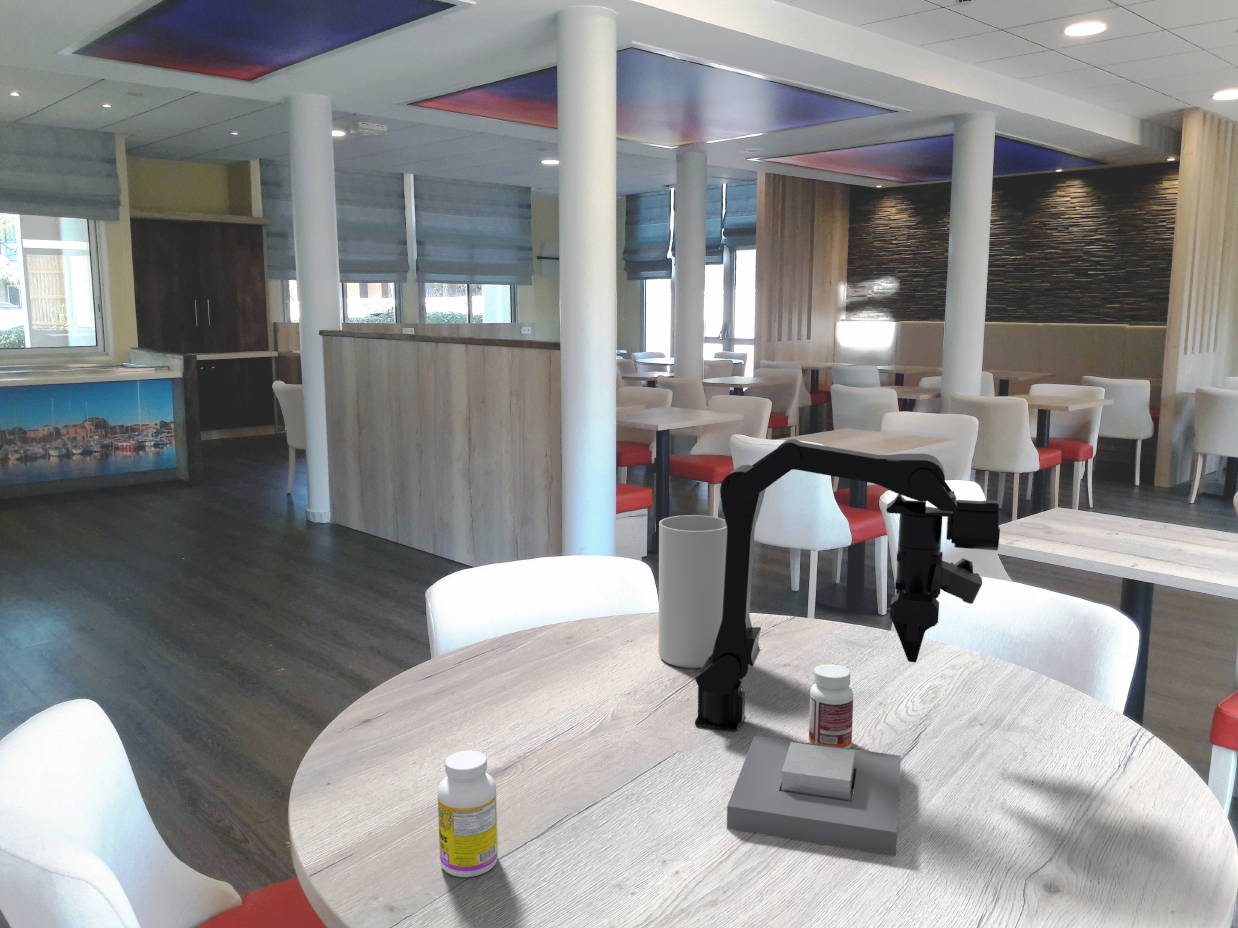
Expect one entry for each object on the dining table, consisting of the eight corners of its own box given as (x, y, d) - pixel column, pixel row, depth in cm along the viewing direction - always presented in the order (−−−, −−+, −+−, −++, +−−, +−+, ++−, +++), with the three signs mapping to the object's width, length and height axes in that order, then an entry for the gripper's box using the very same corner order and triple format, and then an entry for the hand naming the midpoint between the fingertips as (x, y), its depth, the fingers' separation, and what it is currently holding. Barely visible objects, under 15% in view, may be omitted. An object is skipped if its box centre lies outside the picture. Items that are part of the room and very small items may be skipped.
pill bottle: (860, 746, 139) (863, 672, 137) (830, 757, 136) (833, 682, 134) (829, 730, 144) (832, 659, 143) (799, 741, 141) (801, 668, 139)
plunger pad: (781, 792, 121) (781, 770, 121) (789, 762, 129) (790, 741, 128) (849, 802, 119) (850, 780, 118) (854, 771, 127) (854, 750, 126)
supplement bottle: (443, 848, 114) (439, 746, 112) (499, 845, 114) (496, 744, 112) (437, 881, 107) (433, 774, 105) (497, 878, 108) (494, 772, 106)
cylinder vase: (733, 649, 178) (736, 518, 174) (718, 673, 167) (720, 533, 162) (669, 641, 182) (670, 513, 178) (649, 664, 171) (650, 528, 167)
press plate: (726, 828, 118) (727, 805, 117) (753, 755, 137) (754, 735, 136) (895, 855, 112) (897, 832, 111) (899, 775, 131) (900, 755, 130)
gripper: (982, 567, 123) (974, 681, 126) (978, 534, 141) (972, 635, 143) (892, 559, 127) (886, 671, 130) (900, 528, 144) (894, 627, 147)
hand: (913, 650), depth 137 cm, fingers open, 9 cm apart
